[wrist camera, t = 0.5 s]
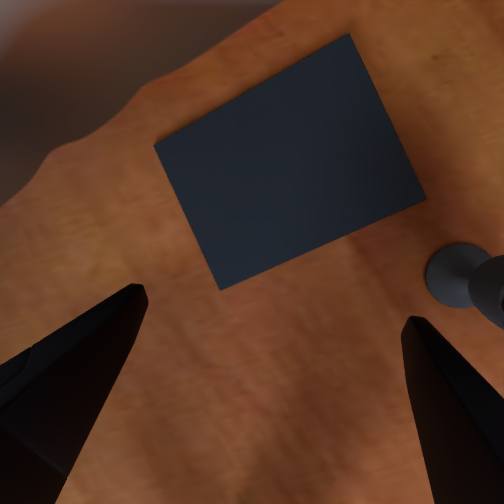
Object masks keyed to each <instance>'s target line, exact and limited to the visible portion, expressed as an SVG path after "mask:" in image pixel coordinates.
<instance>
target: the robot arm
mask: <svg viewBox="0 0 504 504" xmlns="http://www.w3.org/2000/svg"><path fill="white" fill-rule="evenodd" d="M147 307H148V297H147V295H146V292H145V289H144V286H143V285H141V284H134V283H132V284H129V285H127V286H126V287H124V288H123V289H121V290H119V291H118V292H116V293H115V294H113V295H112V296H110V297H108V298H107V299H105V300H104V301H102V302H100V303H99V304H97V305H96V306H94V307H93V308H91V309H89V310H88V311H86V312H85V313H83V314H81V315H80V316H78V317H77V318H75V319H74V320H72V321H70V322H69V323H67V324H66V325H64V326H62V327H61V328H59V329H58V330H56V331H55V332H53V333H51V334H50V335H48V336H47V337H45V338H43V339H42V340H40V341H39V342H37V343H35V344H34V345H32V347H29V348H27V349H26V350H24V351H23V352H21V353H20V354H18V355H16V356H15V357H13V358H11V359H10V360H8V361H6V362H5V363H3V364H2V365H0V504H55V502H56V500H57V498H58V496H59V494H60V492H61V490H62V488H63V486H64V484H65V482H66V480H67V477H68V476H69V474H70V472H71V470H72V468H73V466H74V464H75V462H76V460H77V458H78V456H79V454H80V452H81V449H82V447H83V445H84V443H85V441H86V439H87V437H88V435H89V433H90V431H91V429H92V427H93V425H94V423H95V421H96V419H97V417H98V415H99V413H100V411H101V409H102V407H103V405H104V403H105V401H106V399H107V397H108V395H109V393H110V391H111V389H112V387H113V385H114V383H115V381H116V379H117V377H118V375H119V373H120V371H121V369H122V367H123V365H124V363H125V361H126V359H127V357H128V355H129V353H130V351H131V349H132V347H133V345H134V342H135V340H136V337H137V334H138V332H139V329H140V326H141V324H142V321H143V318H144V316H145V313H146V310H147ZM401 343H402V352H403V360H404V369H405V377H406V384H407V389H408V394H409V398H410V402H411V407H412V411H413V415H414V419H415V423H416V428H417V432H418V436H419V440H420V444H421V449H422V453H423V457H424V461H425V465H426V470H427V474H428V478H429V482H430V486H431V491H432V495H433V499H434V503H435V504H504V398H503V397H502V396H501V395H500V394H499V393H498V392H497V391H496V390H495V389H494V388H493V387H492V386H491V385H490V384H489V383H488V382H487V381H486V380H485V379H484V378H483V377H482V376H481V375H480V374H479V373H478V372H477V370H476V369H475V368H474V367H473V366H472V365H471V364H470V363H469V362H468V361H467V360H466V359H465V358H464V357H463V356H462V355H461V354H460V353H459V352H458V351H457V350H456V349H455V348H454V347H453V346H452V345H451V344H450V343H449V342H448V341H447V340H446V339H445V338H444V337H443V336H442V335H441V334H440V332H439V331H438V330H437V329H436V328H435V327H434V326H433V325H432V324H431V323H430V322H429V321H428V320H427V319H426V318H424V317H419V316H410V317H409V318H408V320H407V322H406V324H405V326H404V328H403V330H402V333H401Z"/></svg>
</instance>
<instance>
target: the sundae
mask: <svg viewBox="0 0 504 504" xmlns="http://www.w3.org/2000/svg"><path fill="white" fill-rule="evenodd" d="M426 282H427V286H428V289H429V291H430V292H431V294H432V295H433V296H434V297H435V298H436V299H437V300H438V301H440V302H441V303H443V304H445V305H447V306H450V307H454V308H468V307H472V306H476V308H477V309H478V310H479V311H480V312H481V313H482V314H483V315H484V316H486V317H487V318H488V319H489V320H490V321H492V322H493V323H494V324H496V325H497V326H499V327H500V328H502V329H503V330H504V255H501V256H497V257H494V258H491V256H490V255H489V254H488V253H487V252H486V251H484V250H483V249H481V248H479V247H477V246H474V245H470V244H455V245H451V246H448V247H445V248H444V249H442V250H440V251H439V252H438V253H436V254H435V255H434V257H433V258H432V259H431V261H430V262H429V264H428V266H427V271H426Z"/></svg>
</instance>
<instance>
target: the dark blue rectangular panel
mask: <svg viewBox="0 0 504 504" xmlns="http://www.w3.org/2000/svg"><path fill="white" fill-rule="evenodd" d="M154 148H155V150H156V152H157V154H158V157H159V159H160V161H161V163H162V165H163V167H164V170H165V172H166V174H167V176H168V178H169V181H170V183H171V185H172V187H173V189H174V191H175V194H176V196H177V198H178V200H179V202H180V204H181V207H182V209H183V211H184V213H185V215H186V218H187V220H188V222H189V224H190V226H191V228H192V231H193V233H194V235H195V237H196V239H197V242H198V244H199V246H200V248H201V250H202V252H203V255H204V257H205V259H206V261H207V263H208V265H209V268H210V270H211V272H212V274H213V276H214V279H215V281H216V283H217V285H218V287H219V289H220V291H221V290H223V289H225V288H228V287H230V286H232V285H234V284H237V283H239V282H241V281H243V280H246V279H248V278H250V277H252V276H255V275H257V274H259V273H261V272H264V271H266V270H268V269H270V268H273V267H275V266H277V265H279V264H282V263H284V262H286V261H288V260H290V259H293V258H295V257H297V256H299V255H302V254H304V253H306V252H308V251H311V250H313V249H315V248H317V247H320V246H322V245H324V244H326V243H329V242H331V241H333V240H335V239H338V238H340V237H342V236H344V235H347V234H349V233H351V232H353V231H355V230H358V229H360V228H362V227H364V226H367V225H369V224H371V223H373V222H376V221H378V220H380V219H382V218H385V217H387V216H389V215H391V214H394V213H396V212H398V211H400V210H403V209H405V208H407V207H409V206H411V205H414V204H416V203H418V202H420V201H423V200H425V199H427V198H426V196H425V194H424V191H423V189H422V187H421V185H420V183H419V181H418V179H417V176H416V174H415V172H414V170H413V168H412V166H411V164H410V162H409V159H408V157H407V155H406V153H405V151H404V149H403V147H402V144H401V142H400V140H399V138H398V136H397V134H396V132H395V130H394V127H393V125H392V123H391V121H390V119H389V117H388V115H387V112H386V110H385V108H384V106H383V104H382V102H381V100H380V98H379V95H378V93H377V91H376V89H375V87H374V85H373V83H372V80H371V78H370V76H369V74H368V72H367V70H366V68H365V66H364V63H363V61H362V59H361V57H360V55H359V53H358V51H357V48H356V46H355V44H354V42H353V40H352V38H351V36H350V34H349V33H348V34H346V35H344V36H343V37H341V38H339V39H338V40H336V41H334V42H332V43H331V44H329V45H327V46H325V47H324V48H322V49H320V50H318V51H317V52H315V53H313V54H312V55H310V56H308V57H306V58H305V59H303V60H301V61H299V62H298V63H296V64H294V65H292V66H291V67H289V68H287V69H286V70H284V71H282V72H280V73H279V74H277V75H275V76H273V77H272V78H270V79H268V80H266V81H265V82H263V83H261V84H259V85H258V86H256V87H254V88H253V89H251V90H249V91H247V92H246V93H244V94H242V95H240V96H239V97H237V98H235V99H233V100H232V101H230V102H228V103H227V104H225V105H223V106H221V107H220V108H218V109H216V110H214V111H213V112H211V113H209V114H207V115H206V116H204V117H202V118H200V119H199V120H197V121H195V122H194V123H192V124H190V125H188V126H187V127H185V128H183V129H181V130H180V131H178V132H176V133H174V134H173V135H171V136H169V137H168V138H166V139H164V140H162V141H161V142H159V143H157V144H155V145H154Z"/></svg>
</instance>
